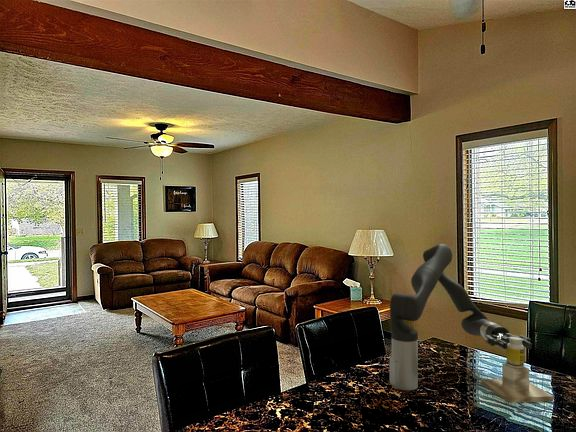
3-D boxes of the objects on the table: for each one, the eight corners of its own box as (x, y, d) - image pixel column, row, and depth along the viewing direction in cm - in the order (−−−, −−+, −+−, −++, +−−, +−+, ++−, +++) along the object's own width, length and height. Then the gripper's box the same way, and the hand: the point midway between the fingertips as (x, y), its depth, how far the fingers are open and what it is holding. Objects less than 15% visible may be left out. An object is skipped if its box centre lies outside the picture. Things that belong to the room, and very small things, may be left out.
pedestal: (508, 402, 138) (508, 375, 138) (481, 383, 154) (481, 359, 154) (553, 400, 140) (553, 373, 140) (521, 381, 156) (521, 357, 156)
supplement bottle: (522, 369, 143) (522, 341, 143) (505, 366, 146) (505, 338, 147) (525, 365, 148) (525, 337, 148) (508, 362, 151) (508, 335, 151)
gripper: (476, 323, 161) (498, 335, 145) (512, 323, 161) (538, 335, 145) (476, 343, 161) (498, 357, 145) (512, 343, 161) (538, 357, 145)
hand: (518, 346), depth 145 cm, fingers open, 8 cm apart
